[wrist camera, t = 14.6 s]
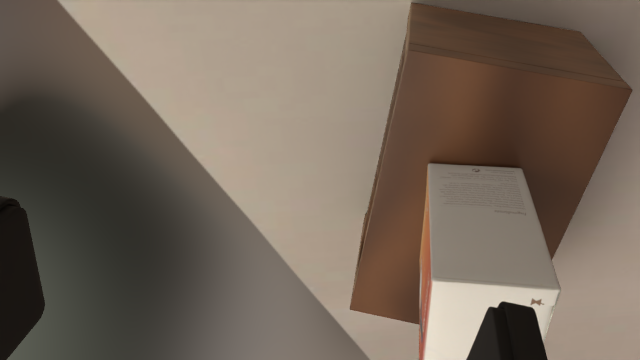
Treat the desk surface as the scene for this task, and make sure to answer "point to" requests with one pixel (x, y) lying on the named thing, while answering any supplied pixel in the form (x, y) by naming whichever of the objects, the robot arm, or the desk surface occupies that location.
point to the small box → (479, 256)
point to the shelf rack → (481, 133)
